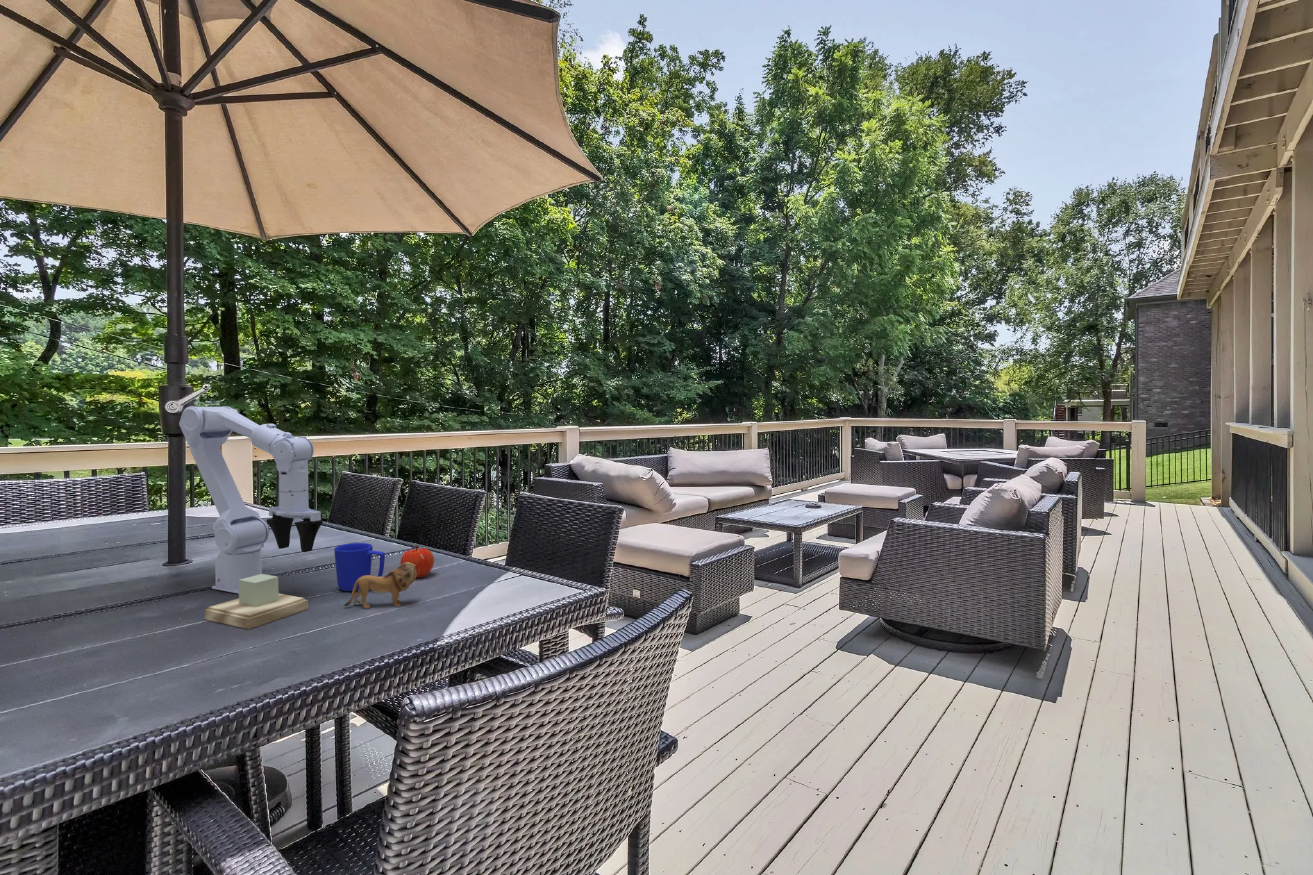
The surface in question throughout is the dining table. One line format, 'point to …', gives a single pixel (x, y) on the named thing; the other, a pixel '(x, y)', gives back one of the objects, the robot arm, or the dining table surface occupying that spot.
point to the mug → (355, 563)
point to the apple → (419, 560)
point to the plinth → (255, 611)
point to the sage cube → (258, 590)
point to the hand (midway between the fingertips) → (295, 549)
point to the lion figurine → (385, 584)
